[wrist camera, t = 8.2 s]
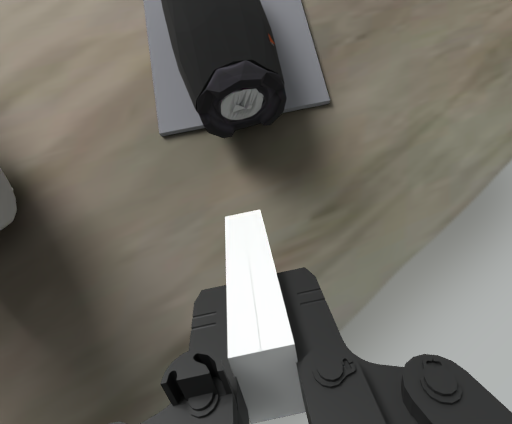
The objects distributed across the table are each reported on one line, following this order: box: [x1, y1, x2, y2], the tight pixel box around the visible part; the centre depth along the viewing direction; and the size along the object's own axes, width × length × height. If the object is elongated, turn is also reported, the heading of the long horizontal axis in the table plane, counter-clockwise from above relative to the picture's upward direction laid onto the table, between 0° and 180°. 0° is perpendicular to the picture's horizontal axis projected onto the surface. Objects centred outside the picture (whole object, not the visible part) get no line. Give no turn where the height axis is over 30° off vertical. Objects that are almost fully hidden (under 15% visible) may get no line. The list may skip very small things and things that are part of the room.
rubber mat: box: [143, 0, 330, 136], centre depth 33 cm, size 20×18×1 cm
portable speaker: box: [161, 0, 287, 138], centre depth 28 cm, size 9×9×20 cm
